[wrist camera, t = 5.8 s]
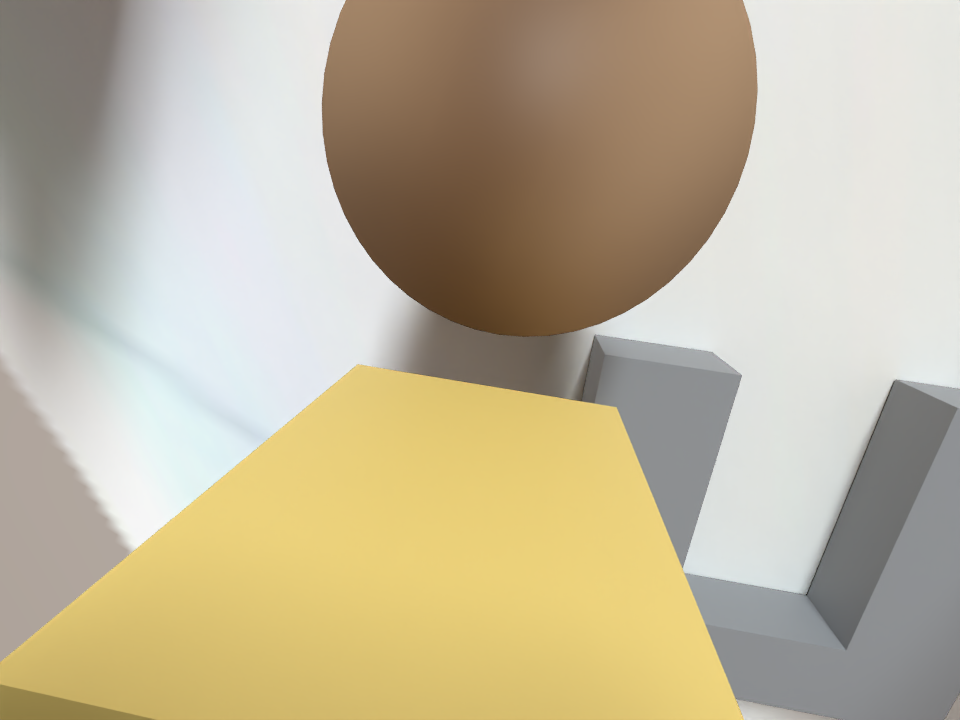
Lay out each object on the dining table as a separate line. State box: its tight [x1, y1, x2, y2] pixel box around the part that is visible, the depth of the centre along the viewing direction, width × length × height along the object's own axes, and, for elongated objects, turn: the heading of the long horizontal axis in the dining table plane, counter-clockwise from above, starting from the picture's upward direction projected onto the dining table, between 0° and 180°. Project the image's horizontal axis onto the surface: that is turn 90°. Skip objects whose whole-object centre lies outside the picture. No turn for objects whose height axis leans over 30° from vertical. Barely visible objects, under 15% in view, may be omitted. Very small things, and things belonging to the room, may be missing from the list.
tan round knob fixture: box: [322, 0, 757, 337], centre depth 12 cm, size 7×7×8 cm
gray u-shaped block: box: [582, 335, 960, 720], centre depth 17 cm, size 14×12×2 cm
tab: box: [0, 364, 744, 720], centre depth 6 cm, size 7×4×6 cm, turn 172°
